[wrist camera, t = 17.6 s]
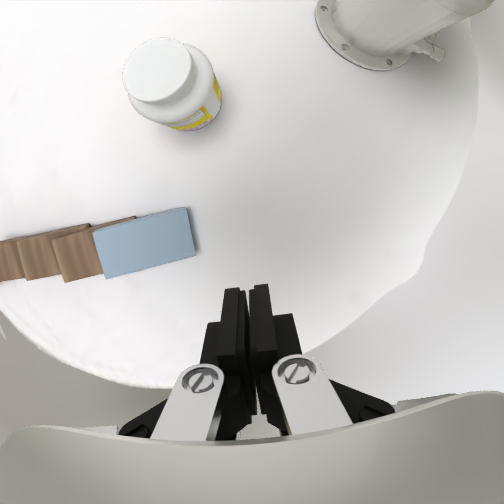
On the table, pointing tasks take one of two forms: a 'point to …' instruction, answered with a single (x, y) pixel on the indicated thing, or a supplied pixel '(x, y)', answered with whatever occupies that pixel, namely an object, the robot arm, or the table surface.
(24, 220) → the table surface
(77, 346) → the table surface
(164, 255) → the domino
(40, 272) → the domino
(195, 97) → the supplement bottle
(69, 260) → the domino
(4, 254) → the domino
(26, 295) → the table surface
